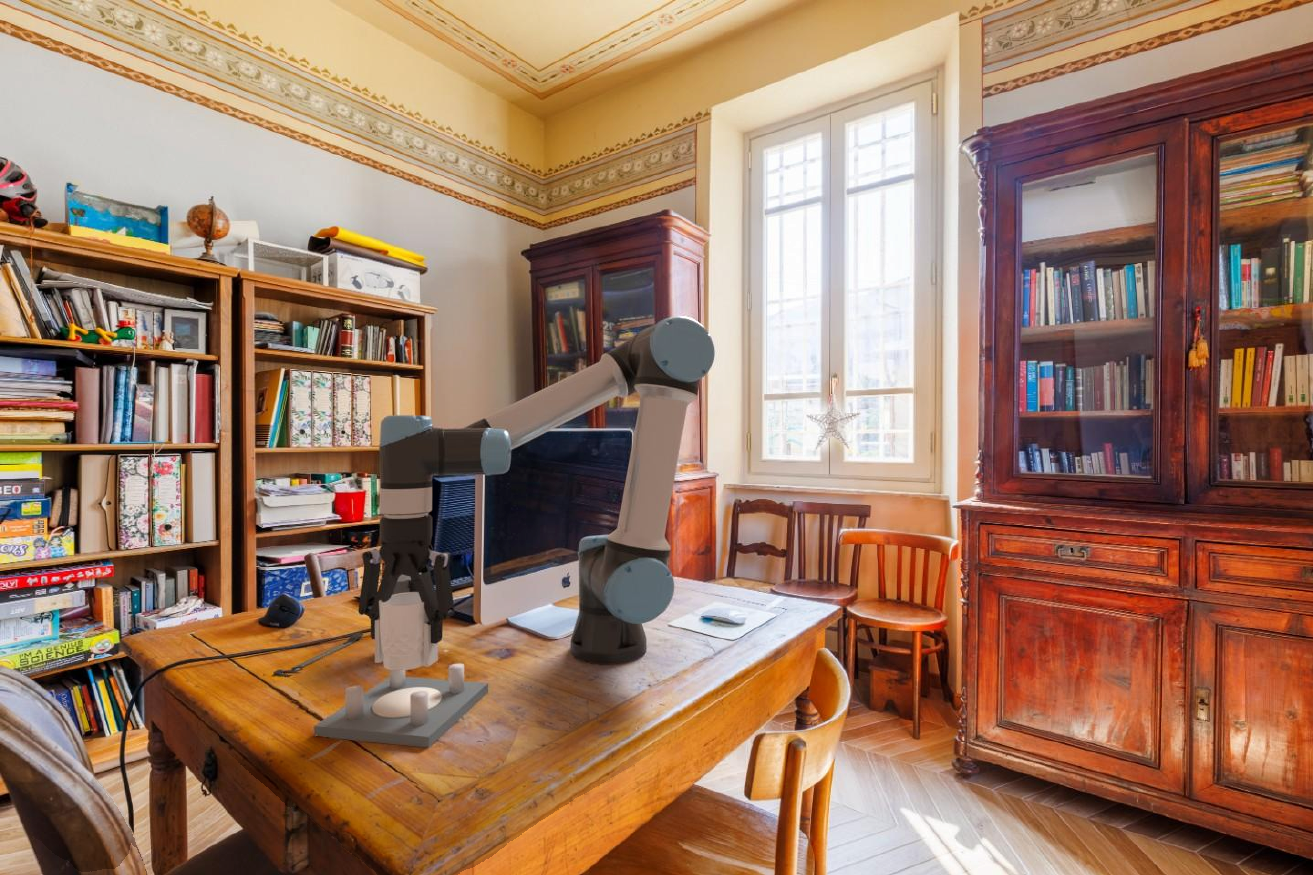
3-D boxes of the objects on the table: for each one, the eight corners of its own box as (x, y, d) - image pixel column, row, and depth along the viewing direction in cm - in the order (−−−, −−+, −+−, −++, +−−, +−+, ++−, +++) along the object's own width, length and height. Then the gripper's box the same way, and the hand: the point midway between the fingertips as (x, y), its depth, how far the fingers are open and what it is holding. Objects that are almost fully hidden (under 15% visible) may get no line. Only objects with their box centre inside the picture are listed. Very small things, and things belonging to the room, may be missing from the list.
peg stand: (488, 691, 100) (487, 659, 100) (428, 747, 83) (428, 707, 83) (391, 684, 104) (390, 652, 104) (314, 736, 86) (313, 698, 86)
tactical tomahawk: (301, 685, 106) (302, 678, 106) (271, 678, 108) (271, 672, 108) (382, 642, 127) (383, 637, 126) (356, 637, 128) (356, 631, 128)
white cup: (389, 654, 97) (389, 592, 97) (439, 652, 97) (439, 591, 97) (370, 673, 89) (370, 606, 89) (425, 671, 90) (425, 605, 89)
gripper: (479, 513, 95) (479, 657, 95) (363, 509, 98) (363, 648, 99) (454, 519, 87) (454, 675, 88) (330, 516, 91) (331, 665, 91)
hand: (406, 661), depth 93 cm, fingers closed on white cup, 8 cm apart
